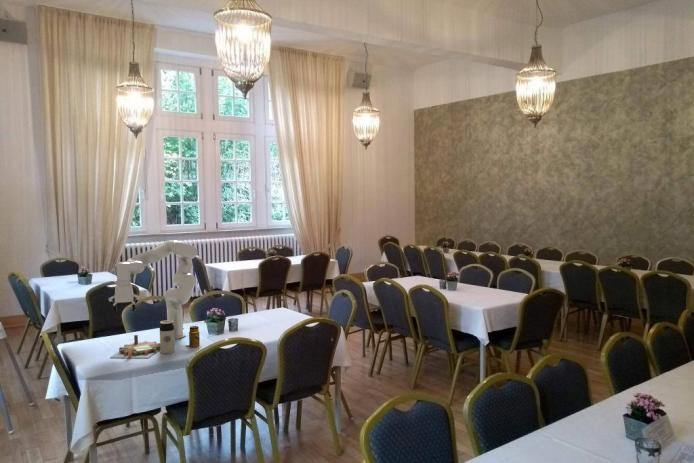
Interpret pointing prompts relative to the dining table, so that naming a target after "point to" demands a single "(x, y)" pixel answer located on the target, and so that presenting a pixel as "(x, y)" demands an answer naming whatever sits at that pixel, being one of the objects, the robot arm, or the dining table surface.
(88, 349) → the dining table surface
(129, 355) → the turntable base
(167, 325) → the travel mug
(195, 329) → the condiment
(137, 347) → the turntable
